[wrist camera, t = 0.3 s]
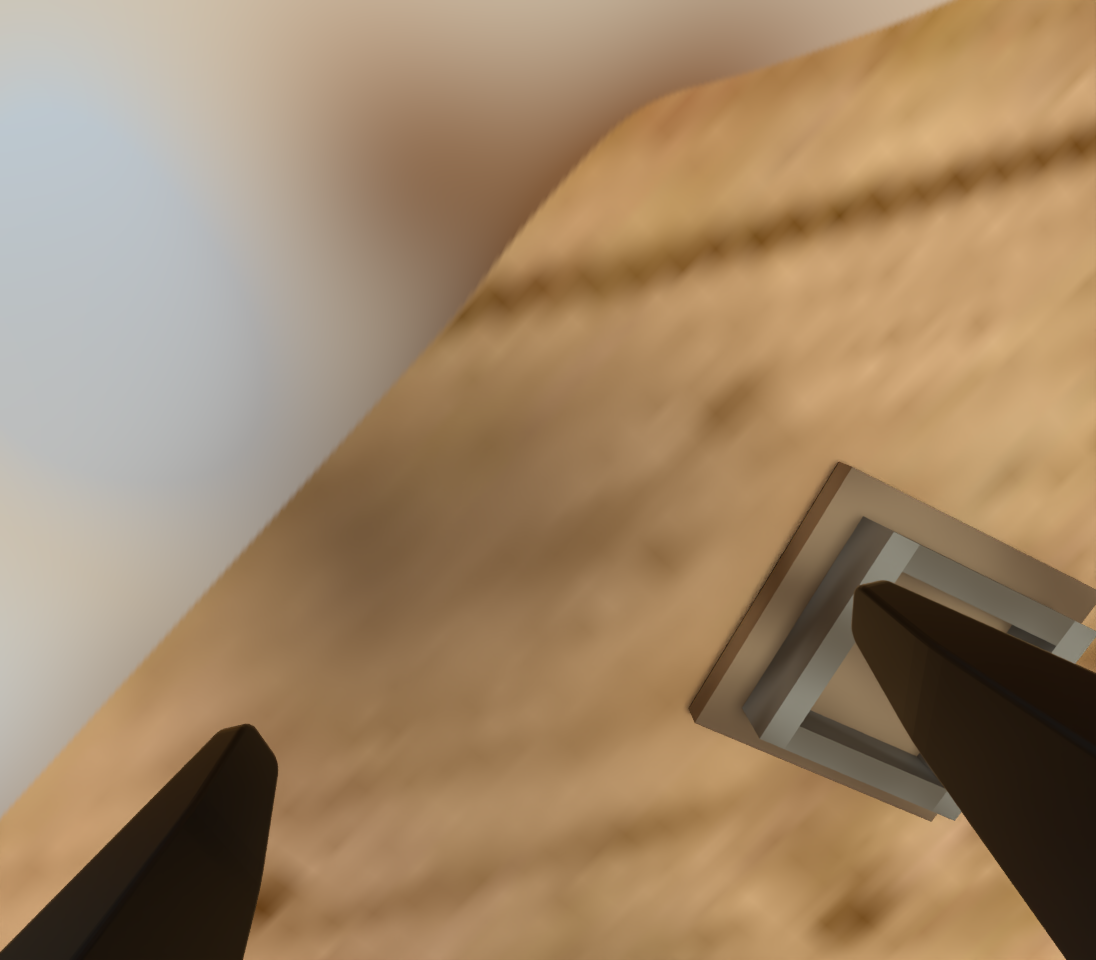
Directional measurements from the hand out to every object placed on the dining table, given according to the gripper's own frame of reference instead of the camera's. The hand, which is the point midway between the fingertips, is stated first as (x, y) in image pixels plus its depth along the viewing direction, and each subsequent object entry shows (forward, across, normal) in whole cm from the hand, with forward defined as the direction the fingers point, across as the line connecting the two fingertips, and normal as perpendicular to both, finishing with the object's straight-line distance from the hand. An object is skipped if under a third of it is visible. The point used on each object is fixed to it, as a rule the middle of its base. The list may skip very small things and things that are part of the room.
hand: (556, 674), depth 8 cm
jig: (+12, -13, +15) cm, 23 cm away
